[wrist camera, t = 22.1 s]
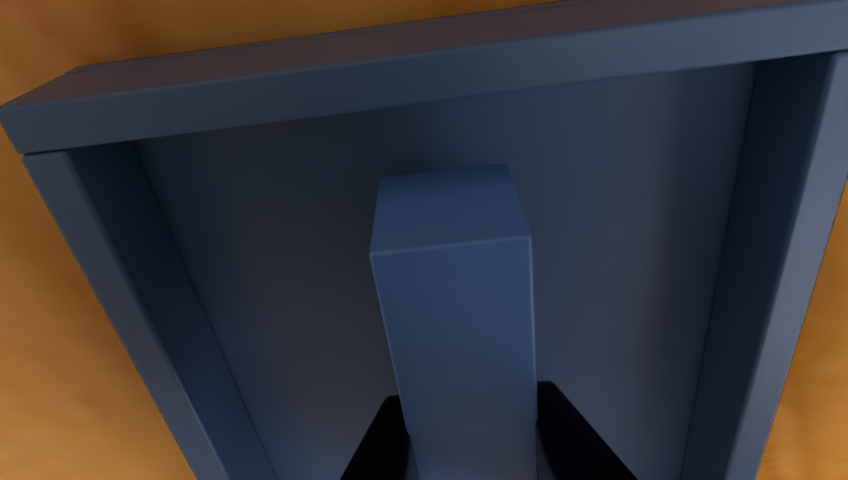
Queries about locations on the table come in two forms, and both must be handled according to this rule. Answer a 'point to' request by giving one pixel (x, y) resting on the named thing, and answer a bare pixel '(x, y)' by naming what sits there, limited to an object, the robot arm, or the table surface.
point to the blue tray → (451, 149)
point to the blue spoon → (460, 319)
